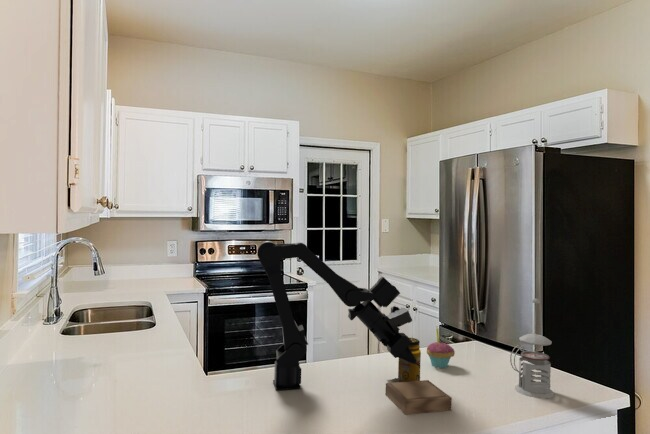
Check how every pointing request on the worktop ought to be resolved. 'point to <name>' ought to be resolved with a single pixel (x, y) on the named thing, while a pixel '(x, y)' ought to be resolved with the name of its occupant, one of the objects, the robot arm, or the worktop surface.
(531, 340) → the french press
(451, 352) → the cupcake
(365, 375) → the worktop surface
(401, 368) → the condiment
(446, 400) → the walnut base
